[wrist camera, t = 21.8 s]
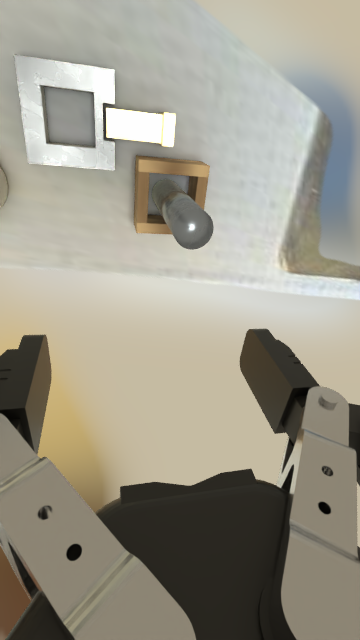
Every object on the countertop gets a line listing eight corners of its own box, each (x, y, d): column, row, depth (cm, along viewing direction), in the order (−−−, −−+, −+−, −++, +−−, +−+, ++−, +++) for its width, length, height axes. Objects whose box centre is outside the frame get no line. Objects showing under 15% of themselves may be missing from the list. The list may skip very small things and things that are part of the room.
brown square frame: (133, 223, 42) (136, 232, 38) (135, 155, 38) (139, 159, 34) (192, 226, 44) (200, 235, 40) (200, 161, 39) (209, 165, 36)
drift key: (106, 137, 36) (106, 140, 33) (105, 105, 34) (106, 105, 31) (167, 144, 37) (173, 146, 34) (169, 113, 36) (175, 114, 33)
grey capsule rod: (151, 207, 41) (172, 248, 29) (152, 177, 39) (176, 207, 27) (178, 209, 42) (210, 249, 30) (181, 180, 40) (216, 210, 28)
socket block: (32, 160, 36) (28, 163, 34) (19, 57, 31) (13, 54, 29) (114, 167, 38) (114, 170, 36) (113, 72, 33) (114, 69, 31)
